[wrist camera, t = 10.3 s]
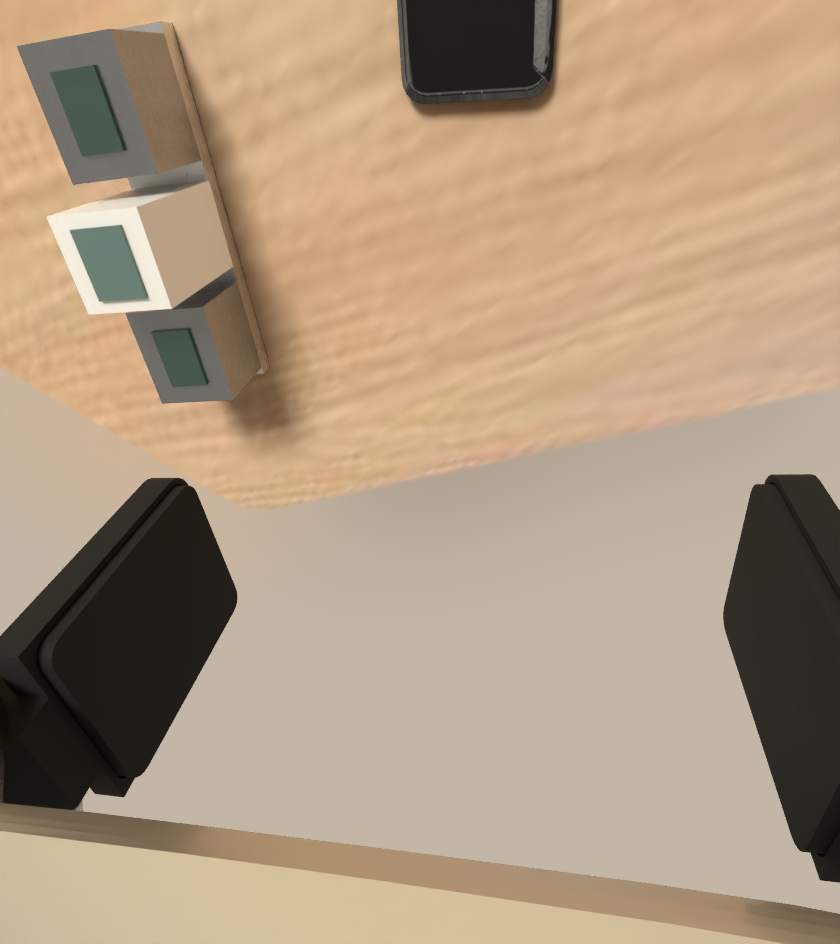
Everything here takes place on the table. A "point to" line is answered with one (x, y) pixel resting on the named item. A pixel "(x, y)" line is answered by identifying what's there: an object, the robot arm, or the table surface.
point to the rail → (148, 165)
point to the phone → (475, 49)
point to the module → (143, 247)
